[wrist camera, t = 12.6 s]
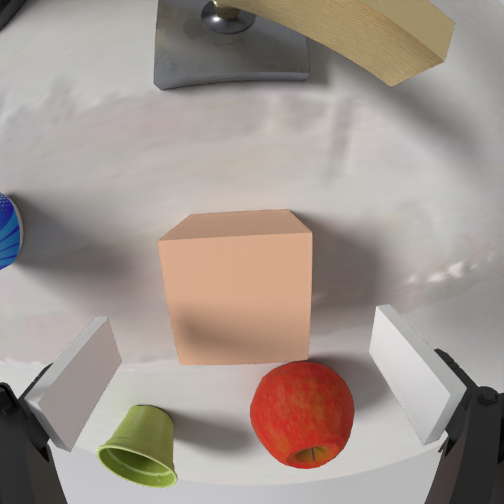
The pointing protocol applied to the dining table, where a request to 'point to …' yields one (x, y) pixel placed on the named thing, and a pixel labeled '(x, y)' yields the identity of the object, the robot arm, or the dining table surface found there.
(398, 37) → the yellow t-shaped bar
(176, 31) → the grey square base plate
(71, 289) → the dining table surface
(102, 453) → the plant pot
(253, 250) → the peach tan cube
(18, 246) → the beer can
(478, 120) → the dining table surface
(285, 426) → the apple
